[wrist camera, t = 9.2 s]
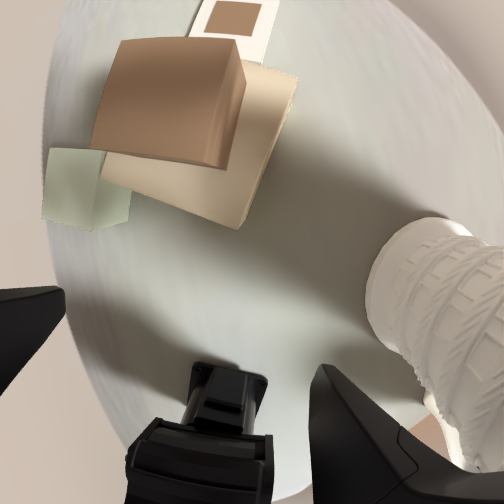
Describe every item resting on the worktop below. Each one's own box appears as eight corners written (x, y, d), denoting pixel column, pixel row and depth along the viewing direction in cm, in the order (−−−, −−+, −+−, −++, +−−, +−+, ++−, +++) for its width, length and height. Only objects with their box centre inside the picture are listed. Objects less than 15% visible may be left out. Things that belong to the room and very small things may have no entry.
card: (261, 64, 16) (261, 61, 16) (183, 56, 17) (181, 53, 16) (282, -6, 15) (282, -10, 14) (212, -12, 15) (210, -16, 14)
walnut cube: (226, 170, 14) (203, 161, 9) (141, 157, 14) (89, 148, 9) (246, 83, 13) (235, 39, 8) (161, 76, 13) (121, 40, 8)
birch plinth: (245, 220, 19) (236, 230, 15) (135, 178, 19) (99, 178, 14) (292, 104, 17) (298, 78, 12) (178, 71, 17) (154, 44, 12)
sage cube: (128, 221, 20) (91, 231, 15) (81, 211, 20) (41, 218, 15) (138, 156, 19) (102, 150, 14) (89, 152, 19) (49, 147, 14)
